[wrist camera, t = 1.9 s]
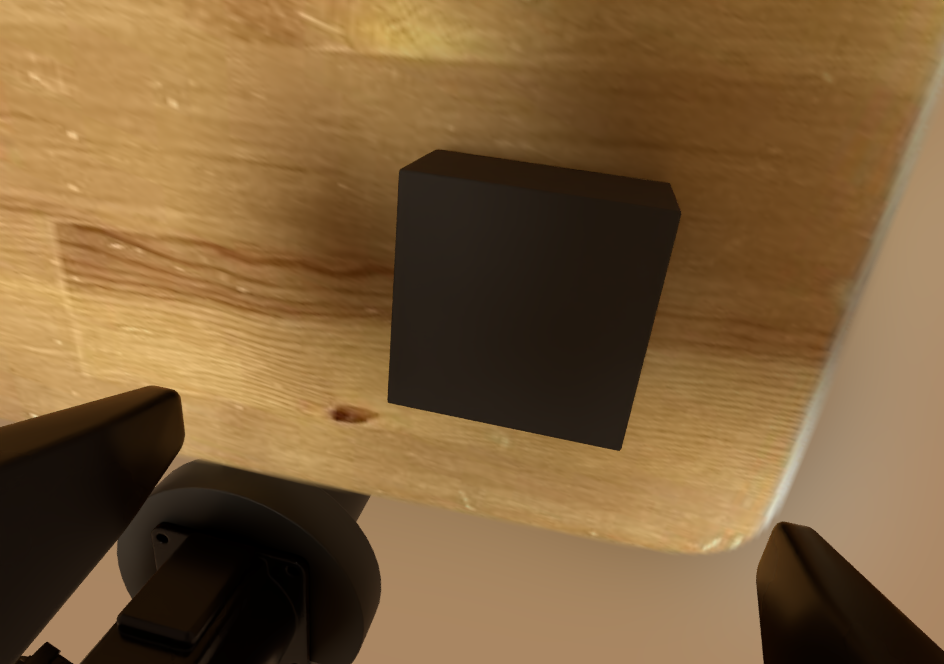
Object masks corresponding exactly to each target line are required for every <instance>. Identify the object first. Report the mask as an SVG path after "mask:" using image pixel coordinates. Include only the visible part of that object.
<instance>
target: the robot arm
mask: <svg viewBox="0 0 944 664" xmlns="http://www.w3.org/2000/svg"><path fill="white" fill-rule="evenodd" d="M184 437H185V430H184V422H183V413H182V405H181V398H180V396H179V394H178V392H176V391H175V390H173V389H168V388H163V387H159V386H147V387H143V388H140V389H136V390H132V391H129V392H125V393H122V394H118V395H114V396H111V397H107V398H104V399H100V400H96V401H93V402H89V403H86V404H82V405H78V406H75V407H71V408H68V409H64V410H60V411H57V412H53V413H50V414H46V415H42V416H39V417H35V418H32V419H28V420H24V421H21V422H17V423H14V424H10V425H6V426H3V427H0V664H73V663H71V662H70V661H68V660H67V659H66V658H64V657H63V656H61V655H59V653H60V652H61V651H60V650H59V649H57V648H56V647H54V646H53V645H51V644H50V643H48V642H46V643H45V644H44V645H42V646H41V647H40V648H39V649H38V650H37V651H36V652H35V653H34V654H33V655H32V656H28V657H27V656H21V655H22V654H23V653H24V651H25V650H26V649H27V648H28V647H29V645H30V644H31V643H32V642H33V641H34V639H35V638H36V637H37V636H38V635H39V633H40V632H41V631H42V630H43V629H44V627H45V626H46V625H47V624H48V623H49V621H50V620H51V619H52V618H53V617H54V615H55V614H56V613H57V612H58V611H59V609H60V608H61V607H62V606H63V605H64V603H65V602H66V601H67V599H68V598H69V597H70V596H71V595H72V594H73V592H74V591H75V590H76V589H77V588H78V586H79V585H80V584H81V583H82V582H83V580H84V579H85V578H86V577H87V576H88V574H89V573H90V572H91V571H92V570H93V568H94V567H95V566H96V565H97V564H98V562H99V561H100V560H101V559H102V558H103V556H104V555H105V554H106V553H107V552H108V550H109V549H110V548H111V547H112V546H113V544H114V543H115V542H116V541H117V540H118V538H119V537H120V536H121V535H122V533H123V532H124V531H125V529H126V528H127V527H128V525H129V524H130V523H131V521H132V520H133V518H134V517H135V516H136V514H137V513H138V511H139V510H140V508H141V507H142V505H143V504H144V503H145V501H146V500H147V498H148V497H149V495H150V494H151V492H152V491H153V489H154V488H155V486H156V485H157V483H158V481H159V480H160V479H161V477H162V476H163V474H164V473H165V472H166V470H167V469H168V467H169V466H170V464H171V463H172V461H173V460H174V458H175V457H176V455H177V454H178V452H179V451H180V449H181V447H182V445H183V442H184ZM151 538H152V544H153V550H154V556H155V562H156V569H157V572H156V573H155V574H154V575H153V576H152V577H151V578H150V580H149V581H148V582H147V583H146V584H145V585H144V586H143V588H142V589H141V590H140V591H139V592H138V593H137V594H136V595H135V597H134V598H133V599H132V600H131V601H130V602H129V603H128V605H127V606H126V607H125V608H124V609H123V611H121V613H120V614H119V615H118V617H117V621H116V623H115V624H114V625H113V626H112V627H111V628H110V629H109V631H108V632H107V633H106V634H105V635H104V636H103V637H102V639H101V640H100V641H99V642H98V643H97V644H96V645H95V647H94V648H93V649H92V650H91V651H90V652H89V653H88V655H87V656H86V657H85V658H84V659H83V660H82V662H81V663H80V664H311V618H310V566H309V563H308V562H307V560H306V559H305V558H303V557H302V556H300V555H297V554H293V553H289V552H285V551H281V550H277V549H273V548H269V547H265V546H261V545H257V544H253V543H249V542H245V541H241V540H237V539H234V538H230V537H226V536H222V535H218V534H214V533H210V532H206V531H202V530H198V529H194V528H190V527H186V526H182V525H178V524H174V523H170V522H161V523H159V524H158V525H157V526H156V527H155V528H154V530H153V531H152V532H151ZM756 584H757V595H758V606H759V617H760V628H761V639H762V650H763V660H764V664H944V651H943V650H942V649H941V648H940V647H939V646H937V644H936V643H934V642H933V641H932V640H931V639H930V638H929V637H928V636H927V635H926V634H925V633H923V631H922V630H921V629H919V628H918V627H917V626H916V625H915V624H914V623H913V622H912V621H911V620H910V619H909V618H908V617H907V616H906V615H904V614H903V613H902V612H901V611H900V610H899V609H898V608H897V607H896V606H895V605H894V604H892V602H891V601H889V600H888V599H887V598H886V597H885V596H884V595H883V594H882V593H881V592H880V591H879V590H878V589H877V588H875V586H873V585H872V584H871V583H870V582H869V581H868V580H867V579H866V578H865V577H864V576H863V575H862V574H860V573H859V571H857V570H856V569H855V568H854V567H853V566H852V565H851V564H850V563H849V562H848V561H847V560H845V558H844V557H842V556H841V555H840V554H839V553H838V552H837V551H836V550H835V549H833V547H832V546H831V545H830V544H829V543H827V542H826V541H825V540H824V539H823V538H822V537H821V536H820V535H819V534H818V533H817V532H816V531H814V530H813V529H812V528H810V527H807V526H802V525H798V524H793V523H789V522H780V523H777V525H776V526H775V527H774V528H773V530H772V533H771V535H770V538H769V541H768V543H767V545H766V548H765V550H764V552H763V555H762V557H761V560H760V562H759V565H758V569H757V575H756Z"/></svg>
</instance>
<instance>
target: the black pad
mask: <svg viewBox="0 0 944 664" xmlns="http://www.w3.org/2000/svg"><path fill="white" fill-rule="evenodd" d="M680 217H681V211H680V208H679V206H678V203H677V200H676V198H675V195H674V193H673V190H672V188H671V185H670V184H669V183H665V182H658V181H651V180H644V179H637V178H630V177H623V176H616V175H609V174H603V173H596V172H589V171H582V170H575V169H568V168H561V167H554V166H547V165H540V164H533V163H526V162H519V161H512V160H506V159H499V158H492V157H485V156H478V155H471V154H464V153H457V152H450V151H443V150H434V151H432V152H431V153H429V154H427V155H425V156H423V157H422V158H420V159H418V160H416V161H414V162H413V163H411V164H409V165H407V166H405V167H404V168H402V169H400V171H399V185H398V205H397V224H396V244H395V264H394V283H393V303H392V322H391V342H390V362H389V381H388V403H392V404H396V405H401V406H406V407H411V408H416V409H420V410H425V411H430V412H435V413H440V414H444V415H449V416H454V417H459V418H464V419H468V420H473V421H478V422H483V423H488V424H492V425H497V426H502V427H507V428H511V429H516V430H521V431H526V432H531V433H535V434H540V435H545V436H550V437H555V438H559V439H564V440H569V441H574V442H579V443H583V444H588V445H593V446H598V447H603V448H607V449H612V450H617V451H620V450H621V448H622V444H623V440H624V436H625V432H626V428H627V425H628V421H629V417H630V413H631V409H632V405H633V401H634V397H635V393H636V389H637V385H638V382H639V378H640V374H641V370H642V366H643V362H644V358H645V354H646V350H647V346H648V342H649V338H650V335H651V331H652V327H653V323H654V319H655V315H656V311H657V307H658V303H659V299H660V295H661V292H662V288H663V284H664V280H665V276H666V272H667V268H668V264H669V260H670V256H671V252H672V248H673V245H674V241H675V237H676V233H677V229H678V225H679V221H680Z"/></svg>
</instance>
